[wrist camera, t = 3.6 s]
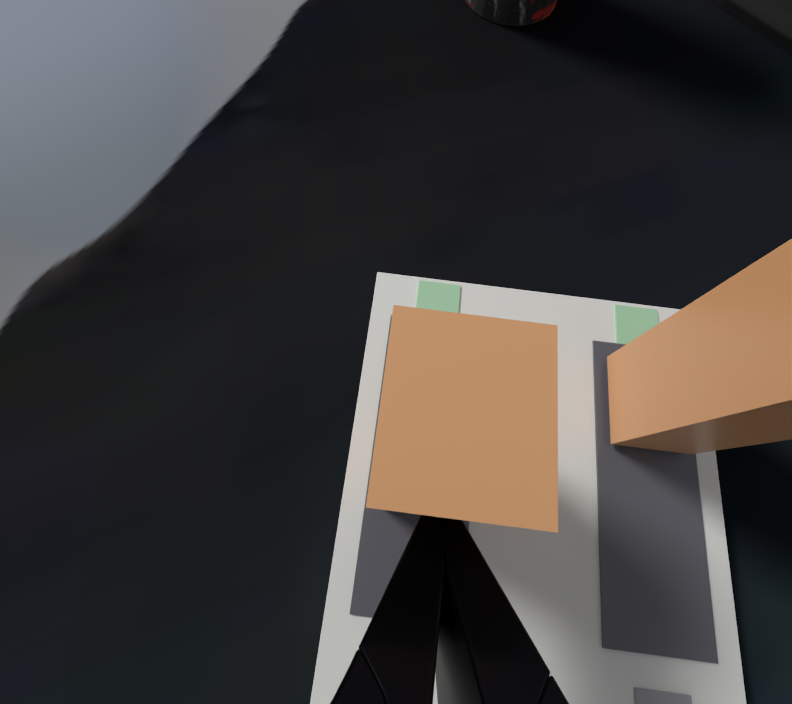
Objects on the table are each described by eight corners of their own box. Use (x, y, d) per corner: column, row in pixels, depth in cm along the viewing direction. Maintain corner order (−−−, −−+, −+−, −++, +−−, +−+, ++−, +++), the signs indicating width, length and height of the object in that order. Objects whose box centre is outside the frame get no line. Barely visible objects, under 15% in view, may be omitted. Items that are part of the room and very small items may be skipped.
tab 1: (459, 514, 15) (557, 532, 7) (375, 503, 15) (365, 507, 7) (466, 416, 16) (557, 325, 8) (387, 406, 16) (393, 304, 8)
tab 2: (690, 454, 16) (1037, 403, 8) (610, 444, 16) (866, 380, 8) (681, 365, 17) (973, 234, 9) (606, 356, 17) (825, 216, 9)
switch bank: (726, 758, 14) (758, 782, 13) (313, 701, 14) (307, 720, 13) (680, 322, 20) (699, 310, 18) (377, 285, 20) (377, 271, 19)
